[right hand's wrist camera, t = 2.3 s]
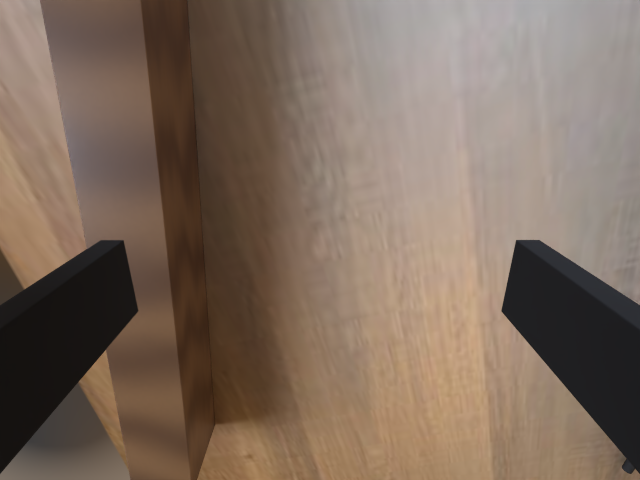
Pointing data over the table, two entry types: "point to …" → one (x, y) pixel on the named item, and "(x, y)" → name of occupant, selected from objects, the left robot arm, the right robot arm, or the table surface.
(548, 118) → the table surface
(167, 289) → the beam
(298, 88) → the table surface
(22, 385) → the right robot arm
